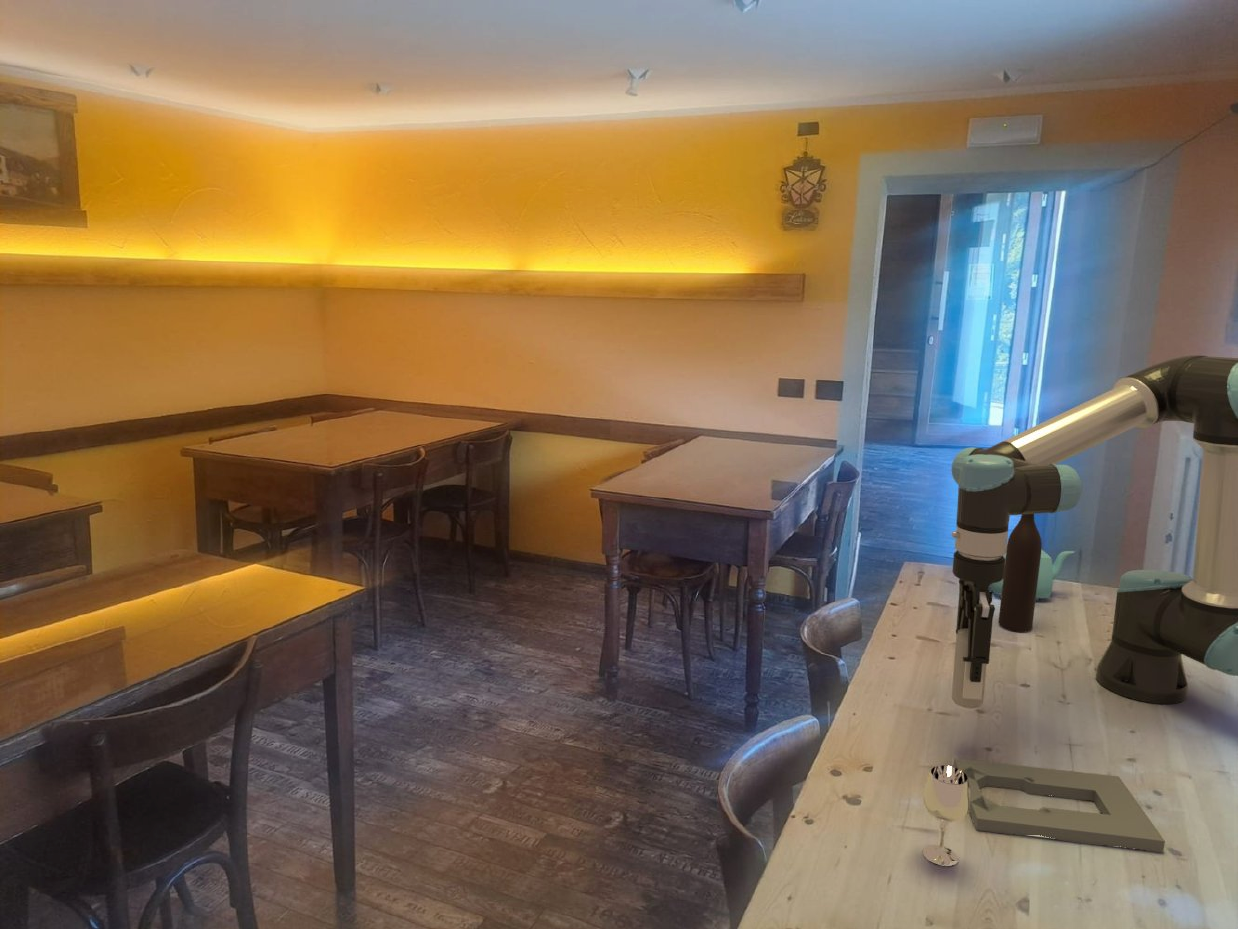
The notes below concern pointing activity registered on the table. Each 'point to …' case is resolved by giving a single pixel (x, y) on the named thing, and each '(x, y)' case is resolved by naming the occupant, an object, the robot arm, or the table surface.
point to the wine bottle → (1021, 576)
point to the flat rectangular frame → (1109, 793)
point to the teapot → (1041, 574)
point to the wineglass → (945, 806)
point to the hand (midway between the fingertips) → (968, 689)
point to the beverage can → (958, 673)
